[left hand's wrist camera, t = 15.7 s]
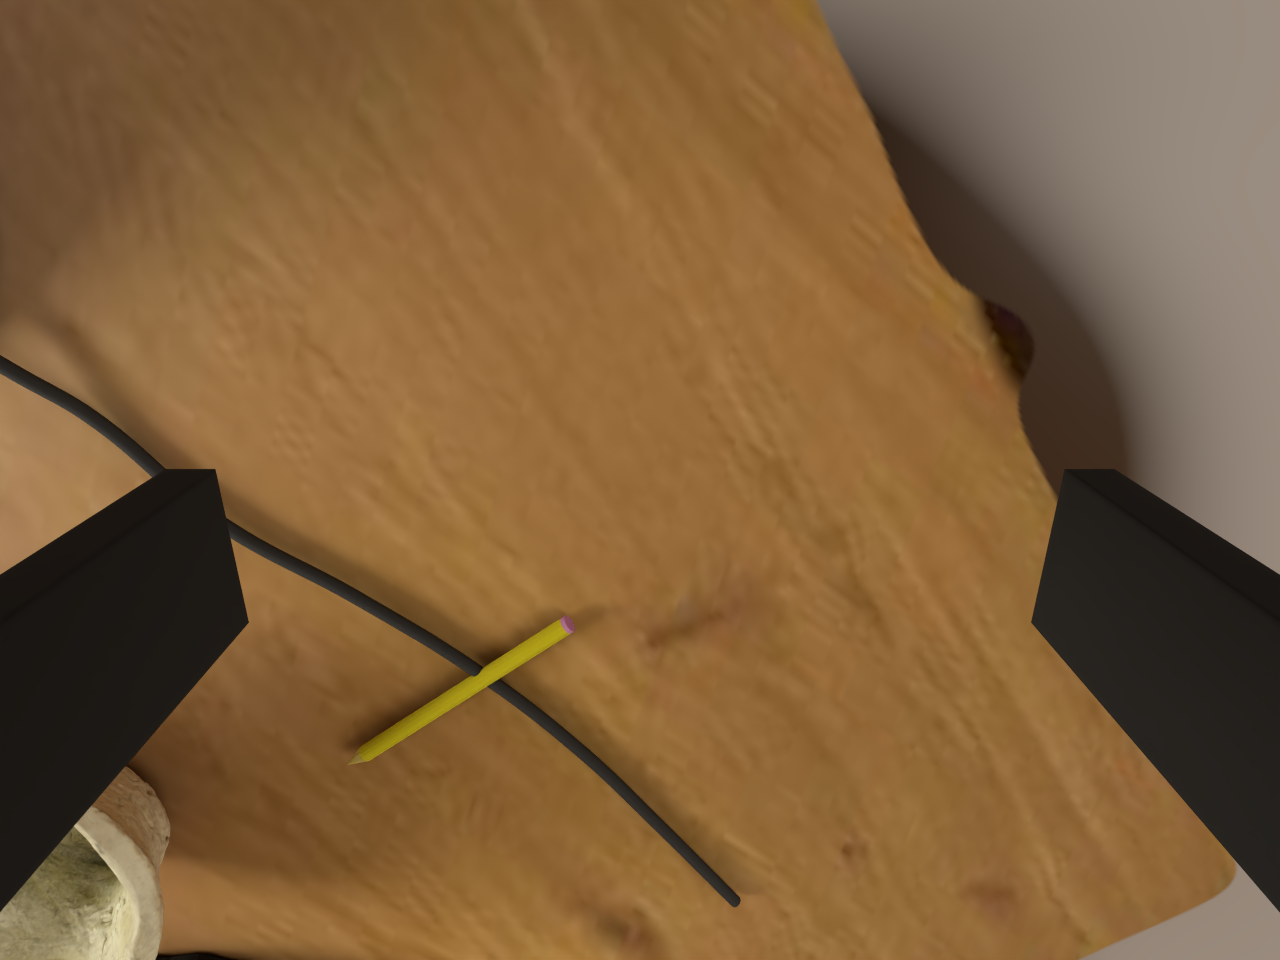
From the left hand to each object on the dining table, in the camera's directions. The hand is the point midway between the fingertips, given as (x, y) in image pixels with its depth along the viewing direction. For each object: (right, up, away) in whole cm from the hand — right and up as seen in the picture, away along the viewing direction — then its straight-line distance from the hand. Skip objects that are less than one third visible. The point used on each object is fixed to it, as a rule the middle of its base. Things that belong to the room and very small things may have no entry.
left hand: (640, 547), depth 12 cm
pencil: (-10, -11, +32) cm, 36 cm away
